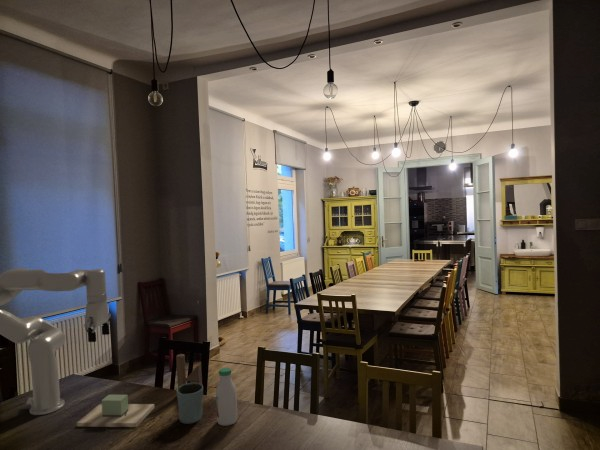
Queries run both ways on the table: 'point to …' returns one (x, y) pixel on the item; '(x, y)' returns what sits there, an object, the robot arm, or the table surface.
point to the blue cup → (190, 402)
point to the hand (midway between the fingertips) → (99, 338)
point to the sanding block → (114, 405)
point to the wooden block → (181, 373)
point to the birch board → (127, 420)
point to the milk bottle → (226, 399)
